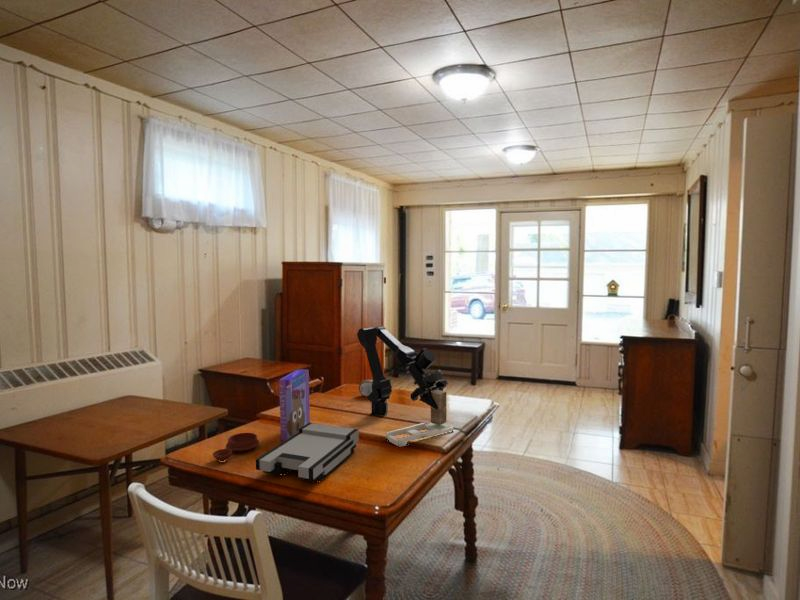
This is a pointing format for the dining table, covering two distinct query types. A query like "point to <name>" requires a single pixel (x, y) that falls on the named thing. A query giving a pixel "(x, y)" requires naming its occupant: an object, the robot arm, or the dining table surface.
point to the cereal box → (294, 402)
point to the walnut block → (439, 407)
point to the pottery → (237, 445)
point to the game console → (311, 452)
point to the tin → (365, 387)
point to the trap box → (417, 432)
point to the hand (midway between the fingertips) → (441, 407)
